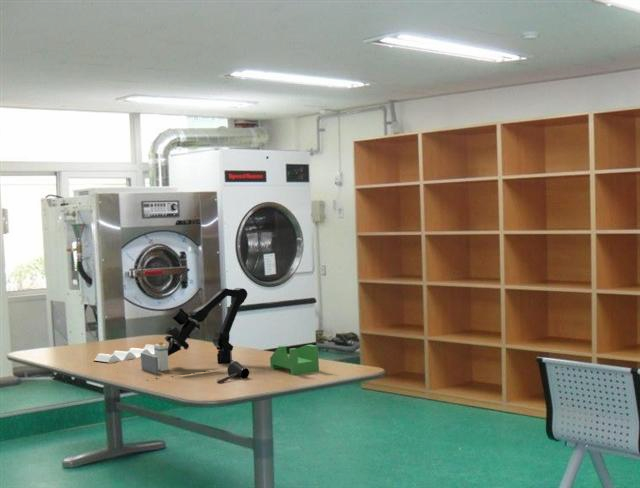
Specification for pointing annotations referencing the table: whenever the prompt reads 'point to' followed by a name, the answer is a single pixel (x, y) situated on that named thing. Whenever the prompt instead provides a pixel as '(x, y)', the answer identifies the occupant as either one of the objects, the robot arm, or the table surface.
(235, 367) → the coffee pot
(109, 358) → the white zigzag rack
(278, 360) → the green cradle stand
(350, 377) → the table surface
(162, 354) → the block
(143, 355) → the grey block
